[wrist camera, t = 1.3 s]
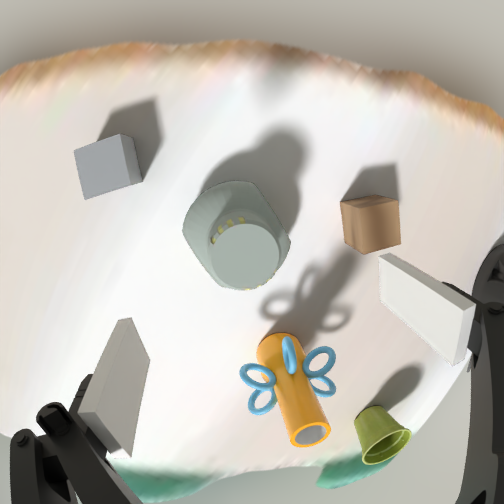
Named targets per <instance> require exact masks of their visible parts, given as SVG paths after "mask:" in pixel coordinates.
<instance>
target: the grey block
mask: <svg viewBox="0 0 504 504" xmlns="http://www.w3.org/2000/svg"><path fill="white" fill-rule="evenodd" d="M74 155H75V160H76V165H77V170H78V174H79V179H80V183H81V187H82V191H83V195H84V199H85V200H87V199H90V198H93V197H96V196H99V195H102V194H105V193H108V192H111V191H114V190H117V189H121V188H124V187H127V186H130V185H134V184H137V183H141V182H143V181H142V177H141V173H140V168H139V164H138V159H137V155H136V150H135V145H134V141H133V138H132V137H129V136H126V135H123V134H117V135H114V136H111V137H108V138H105V139H103V140H100V141H97V142H94V143H92V144H89V145H87V146H84V147H81V148H79V149H76V150H74Z"/></svg>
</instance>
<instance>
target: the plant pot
mask: <svg viewBox="0 0 504 504" xmlns="http://www.w3.org/2000/svg"><path fill="white" fill-rule="evenodd" d="M354 425H355V428H356V431H357V434H358V437H359V440H360V443H361V447H362V454H363V456H362V461H363V462H364V463H365V464H368V465H372V464H377V463H380V462H383V461H385V460H387V459H389V458H391V457H392V456H394V455H396V454H397V453H398V452H399V451H401V450H402V449H403V448H404V447H405V446H406V445H407V443H408V442H409V440H410V438H411V434H412V433H411V431H410V430H409V429H406V428H404V427H403V426H401V425H400V424H399V423H398V422H396V421H395V420H394V419H393V418H392V417H391V416H390V415H389V414H388V413H387V411H386V410H385V409H384V408H383V407H381V406H372V407H369V408H367V409H365V410H364V411H362V412H361V413H360V414H359V416H358V418H357V419H355V421H354Z"/></svg>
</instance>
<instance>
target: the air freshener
mask: <svg viewBox="0 0 504 504" xmlns="http://www.w3.org/2000/svg"><path fill="white" fill-rule="evenodd" d="M182 232H183V235H184V237H185V239H186V241H187V243H188V244H189V246H190V248H191V249H192V251H193V253H194V254H195V256H196V257H197V259H198V260H199V261H200V263H201V264H202V266H203V267H204V268H205V270H206V271H207V272H208V273H209V275H210V276H211V277H212V278H213V279H214V280H215V282H216V283H217V284H219V285H220V286H221V287H225V288H231V289H235V290H252V289H255V288H257V287H259V286H261V285H264V284H265V283H267V281H268V280H269V279H271V278H272V277H273V276H274V275H275V272H276V271H277V270H278V269H279V268H280V267H281V265H282V264H283V262H284V260H285V259H286V257H287V254H288V252H289V249H290V244H291V241H290V239H289V237H288V235H287V233H286V232H285V230H284V228H283V226H282V225H281V223H280V221H279V220H278V218H277V216H276V215H275V213H274V212H273V210H272V209H271V207H270V205H269V204H268V202H267V201H266V199H265V198H264V196H263V195H262V194H261V192H260V191H259V189H258V188H257V187H256V186H255V184H254V183H251V182H247V181H228V182H224V183H220V184H218V185H215V186H213V187H211V188H209V189H208V190H206V191H205V192H203V193H202V194H201V195H200V196H199V197H198V198H197V199H196V200H195V201H194V203H193V204H192V205H191V207H190V208H189V210H188V212H187V214H186V217H185V220H184V223H183V230H182Z"/></svg>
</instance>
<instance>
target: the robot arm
mask: <svg viewBox="0 0 504 504" xmlns="http://www.w3.org/2000/svg"><path fill="white" fill-rule="evenodd" d="M379 279H380V302H381V303H383V304H384V305H385V306H386V307H387V308H388V309H389V310H391V311H392V312H393V313H394V314H395V315H396V316H397V317H399V318H400V319H401V320H402V321H403V322H404V323H405V324H406V325H408V326H409V327H410V328H411V329H412V330H413V331H414V332H415V333H416V334H417V335H419V336H420V337H421V338H422V339H423V340H424V341H425V342H426V343H427V344H428V345H430V346H431V347H432V348H433V349H434V350H435V351H436V352H437V353H438V354H439V355H440V356H441V357H442V358H444V359H445V360H446V361H447V362H448V363H449V364H450V365H451V366H454V365H456V364H457V363H459V362H461V361H462V360H464V359H465V355H466V351H467V348H468V349H469V350H471V351H472V355H471V359H470V362H469V366H468V370H467V372H469V371H470V368H471V412H470V428H469V439H468V449H467V456H466V463H465V469H464V476H463V481H462V486H461V491H460V494H459V497H458V499H457V501H456V503H455V504H504V245H499V246H498V247H496V248H495V249H494V250H493V251H492V252H491V253H490V254H489V255H488V256H487V258H486V259H485V261H484V263H483V264H482V266H481V268H480V271H479V273H478V275H477V278H476V281H475V284H474V288H473V293H472V296H470V295H469V294H467V293H465V292H464V291H462V290H460V289H459V288H457V287H456V286H454V285H452V284H449V283H445V282H440V281H438V280H436V279H435V278H433V277H431V276H430V275H428V274H426V273H425V272H423V271H421V270H419V269H418V268H416V267H414V266H413V265H411V264H409V263H407V262H406V261H404V260H402V259H400V258H399V257H397V256H395V255H393V254H391V253H388V254H384V255H381V256H379ZM149 364H150V359H149V356H148V354H147V352H146V350H145V348H144V346H143V343H142V341H141V339H140V337H139V334H138V332H137V330H136V327H135V325H134V322H133V320H132V318H126V319H121V320H118V322H117V324H116V326H115V328H114V330H113V332H112V334H111V336H110V338H109V340H108V343H107V345H106V347H105V349H104V351H103V353H102V356H101V358H100V360H99V362H98V364H97V367H96V369H95V371H94V374H88V375H87V376H86V377H85V379H84V380H83V381H82V382H81V384H80V386H79V388H78V391H77V393H76V395H75V398H74V400H73V402H72V404H71V407H70V409H69V412H68V411H67V410H66V409H65V407H64V406H63V405H62V404H61V403H59V402H52V403H49V404H47V405H45V406H44V407H42V408H41V409H40V411H39V412H38V414H37V416H36V422H37V423H38V424H39V426H40V427H41V428H42V429H43V430H44V432H45V433H46V435H42V436H38V437H37V436H36V435H35V434H34V433H33V432H32V431H31V430H30V429H22V430H20V431H18V432H16V433H15V434H14V436H13V437H12V439H11V444H10V484H11V485H10V486H11V501H12V504H78V502H77V498H76V494H77V495H78V497H79V499H80V501H81V502H82V504H143V503H142V502H141V501H140V500H139V498H138V497H137V496H136V495H135V494H134V493H133V491H132V490H131V489H130V488H129V487H128V485H127V484H126V483H125V482H124V480H123V479H122V478H121V477H120V475H119V474H118V473H117V471H116V470H115V469H114V467H113V466H112V465H111V463H110V462H109V461H108V460H107V459H106V458H105V457H106V453H107V450H108V452H109V453H110V454H111V455H112V456H113V457H114V458H131V457H132V450H133V444H134V438H135V433H136V427H137V422H138V416H139V411H140V406H141V401H142V396H143V391H144V386H145V382H146V377H147V372H148V368H149ZM75 492H76V494H75Z"/></svg>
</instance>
